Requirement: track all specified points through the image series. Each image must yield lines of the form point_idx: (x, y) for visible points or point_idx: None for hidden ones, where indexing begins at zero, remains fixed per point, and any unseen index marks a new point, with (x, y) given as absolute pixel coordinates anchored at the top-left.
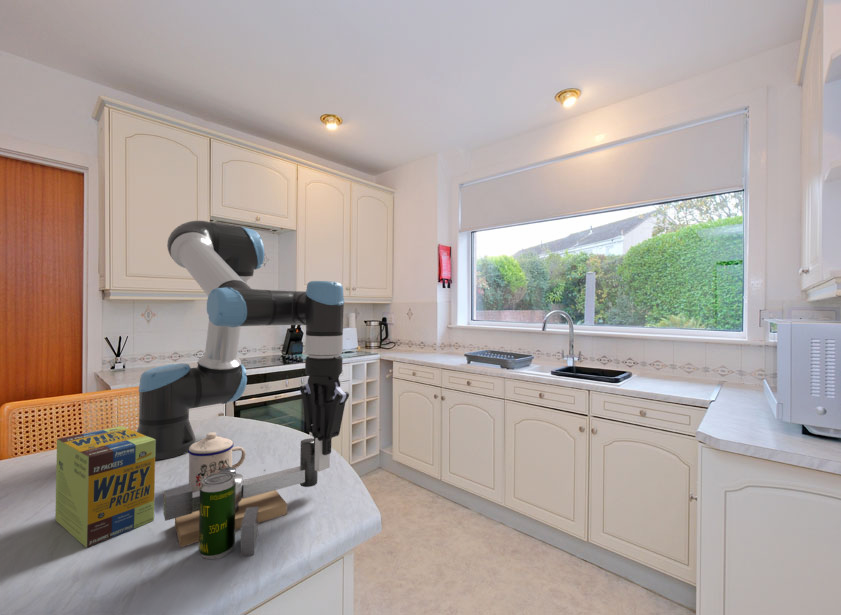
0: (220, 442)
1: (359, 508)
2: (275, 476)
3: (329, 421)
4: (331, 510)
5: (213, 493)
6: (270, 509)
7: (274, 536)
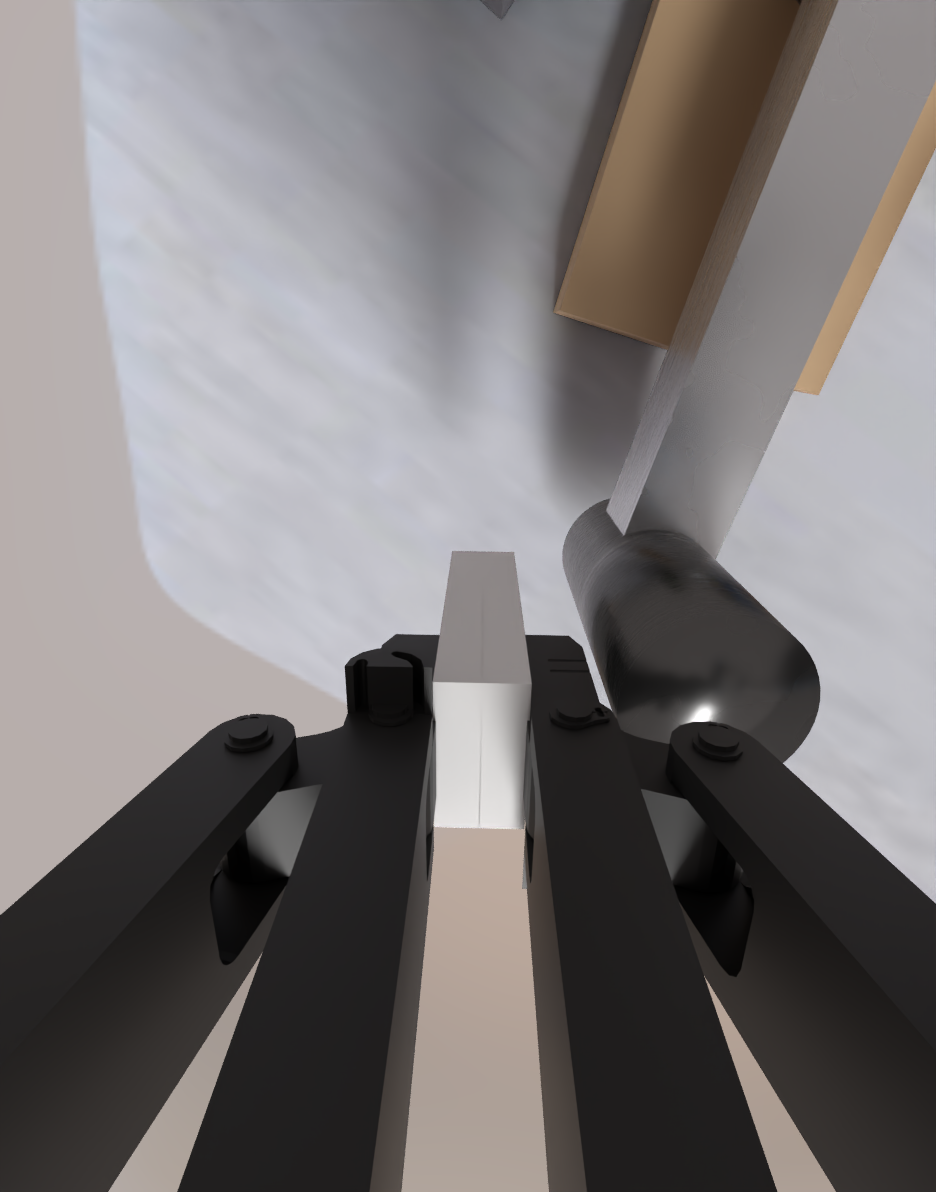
0: None
1: (274, 612)
2: (741, 283)
3: (116, 916)
4: (374, 507)
5: None
6: (599, 186)
7: (398, 85)
